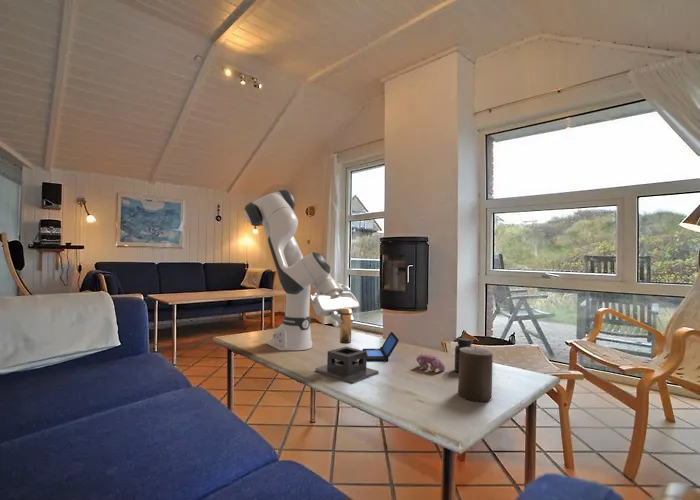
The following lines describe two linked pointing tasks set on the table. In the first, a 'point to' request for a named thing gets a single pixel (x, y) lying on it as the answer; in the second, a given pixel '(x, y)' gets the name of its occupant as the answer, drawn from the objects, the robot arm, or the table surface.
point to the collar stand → (347, 365)
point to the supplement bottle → (461, 343)
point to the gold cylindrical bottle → (345, 326)
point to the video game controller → (430, 362)
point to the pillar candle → (475, 374)
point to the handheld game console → (382, 349)
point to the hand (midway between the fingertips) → (347, 322)
